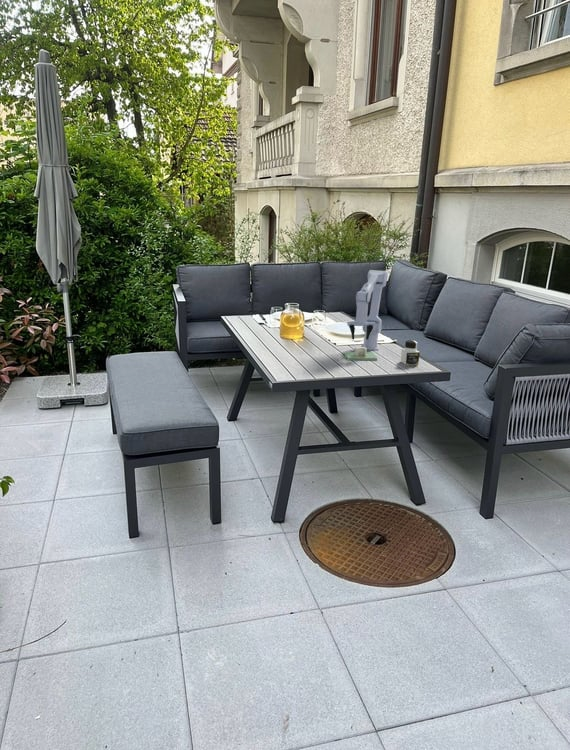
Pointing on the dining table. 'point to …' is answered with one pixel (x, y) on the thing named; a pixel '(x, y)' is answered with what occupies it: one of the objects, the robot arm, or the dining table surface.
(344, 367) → the dining table surface
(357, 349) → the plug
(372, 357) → the header board
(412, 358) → the medicine bottle
